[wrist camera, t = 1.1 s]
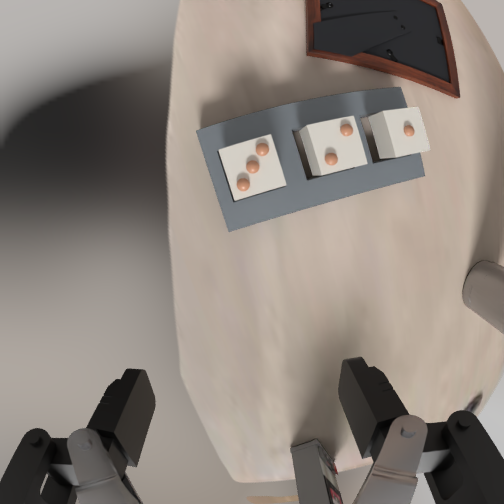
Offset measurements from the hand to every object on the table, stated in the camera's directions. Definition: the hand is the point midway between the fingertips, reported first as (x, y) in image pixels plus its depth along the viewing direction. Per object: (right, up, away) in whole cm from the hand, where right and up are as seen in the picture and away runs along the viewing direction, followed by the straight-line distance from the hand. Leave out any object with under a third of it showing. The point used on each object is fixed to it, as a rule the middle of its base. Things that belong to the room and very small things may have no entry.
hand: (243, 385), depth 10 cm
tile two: (+8, +17, +18) cm, 26 cm away
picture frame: (+20, +40, +17) cm, 48 cm away
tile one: (+17, +19, +18) cm, 31 cm away
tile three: (0, +14, +19) cm, 24 cm away
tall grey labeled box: (+14, -39, +38) cm, 56 cm away
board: (+8, +18, +22) cm, 29 cm away
